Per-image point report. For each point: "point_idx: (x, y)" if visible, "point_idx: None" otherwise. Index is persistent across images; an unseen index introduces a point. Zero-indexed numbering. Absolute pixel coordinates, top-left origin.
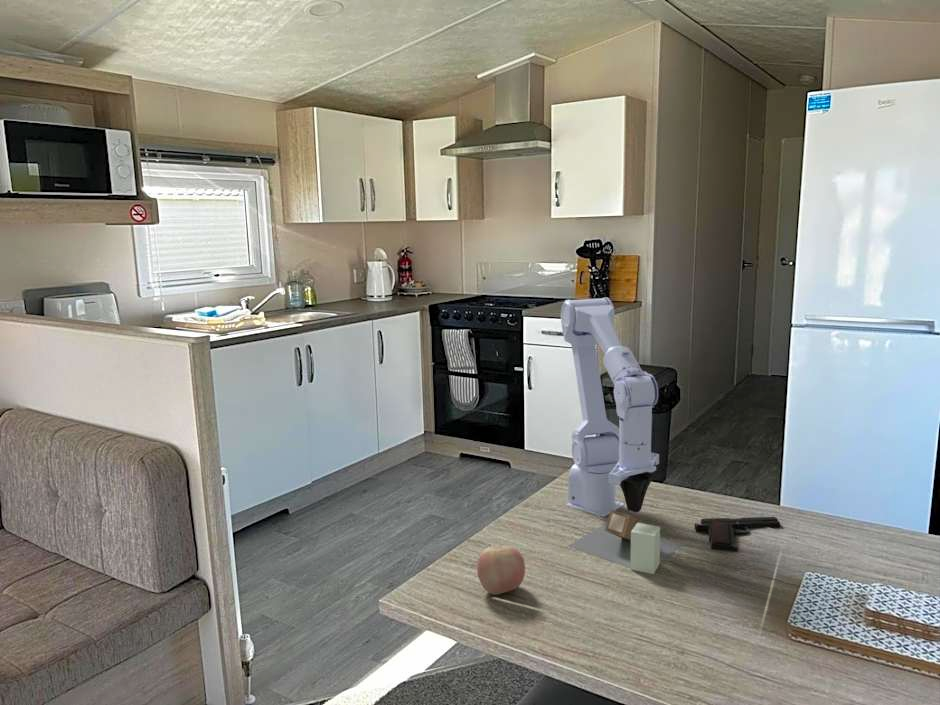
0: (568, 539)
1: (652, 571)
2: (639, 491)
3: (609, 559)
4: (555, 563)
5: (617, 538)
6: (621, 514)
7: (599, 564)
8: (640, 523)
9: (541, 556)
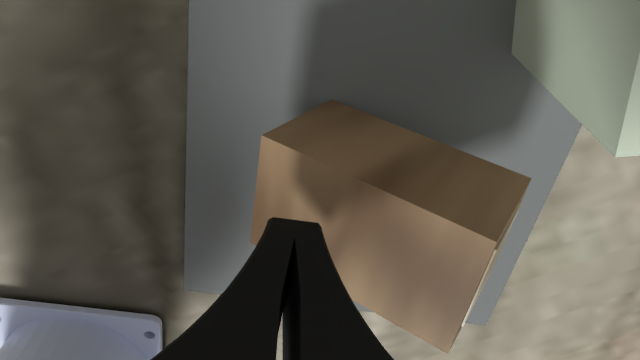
0: (413, 338)
1: None
2: (373, 348)
3: (556, 161)
4: (628, 305)
5: None
6: (477, 286)
7: (590, 180)
8: (626, 132)
9: (585, 353)
